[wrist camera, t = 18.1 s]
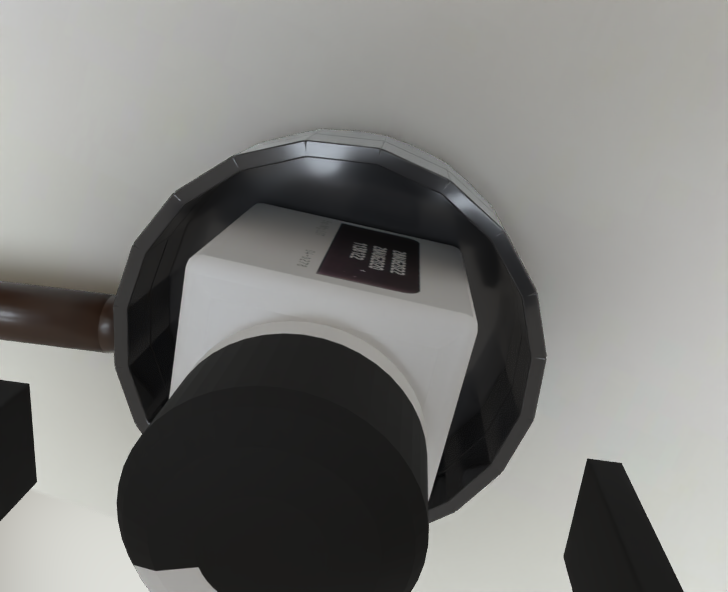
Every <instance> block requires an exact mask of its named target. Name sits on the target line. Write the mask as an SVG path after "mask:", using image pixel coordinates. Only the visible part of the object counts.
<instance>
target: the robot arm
mask: <svg viewBox="0 0 728 592" xmlns="http://www.w3.org/2000/svg"><path fill="white" fill-rule="evenodd" d="M36 482H37V477H36V464H35V451H34V438H33V425H32V412H31V399H30V386H29V384H27V383H19V382H12V381H4V380H0V521H1V519H3V518H4V517H5V516H6V514H7V513H8V512H9V511H10V510H11V509H12V508H13V507H14V506H15V505H16V504H17V503H18V502H19V500H21V498H22V497H23V496H24V495H25V494H26V493H27V492H28V491H29V490H30V489H31V488H32V487H33V486H34V485H35V483H36ZM564 561H565V564H566V568H567V572H568V575H569V579H570V583H571V586H572V590H573V592H683V589H682V587H681V585H680V583H679V581H678V579H677V577H676V575H675V573H674V571H673V569H672V567H671V565H670V563H669V560H668V558H667V556H666V554H665V552H664V550H663V548H662V546H661V544H660V542H659V540H658V538H657V536H656V534H655V531H654V529H653V527H652V525H651V523H650V521H649V519H648V517H647V515H646V513H645V511H644V509H643V507H642V505H641V502H640V500H639V498H638V496H637V494H636V492H635V490H634V488H633V486H632V484H631V482H630V480H629V478H628V476H627V473H626V471H625V469H624V467H623V465H622V463H616V462H609V461H601V460H594V459H587V462H586V466H585V470H584V475H583V479H582V483H581V487H580V491H579V495H578V499H577V503H576V507H575V511H574V516H573V520H572V524H571V528H570V532H569V536H568V540H567V544H566V548H565V552H564Z"/></svg>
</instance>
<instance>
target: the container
mask: <svg viewBox="0 0 728 592" xmlns="http://www.w3.org/2000/svg"><path fill="white" fill-rule="evenodd" d="M477 332H478V323H477V319H476V315H475V310H474V306H473V301H472V297H471V292H470V288H469V283H468V279H467V274H466V270H465V266H464V261H463V257H462V253H461V252H460V250H459V249H458V248H456V247H454V246H451V245H446V244H442V243H437V242H433V241H429V240H424V239H420V238H415V237H411V236H406V235H402V234H397V233H393V232H389V231H384V230H380V229H375V228H371V227H366V226H362V225H357V224H353V223H349V222H344V221H340V220H335V219H331V218H326V217H322V216H318V215H313V214H309V213H304V212H300V211H295V210H291V209H286V208H282V207H278V206H273V205H269V204H264V203H257V204H255V205H254V206H252V207H251V208H250V209H249V210H248V211H246V212H245V213H244V214H243V215H241V216H240V217H239V218H238V219H237V220H235V221H234V222H233V223H232V224H231V225H229V226H228V227H227V228H226V229H225V230H223V231H222V232H221V233H220V234H219V235H217V236H216V237H215V238H214V239H212V240H211V241H210V242H209V243H208V244H206V245H205V246H204V247H203V248H202V249H200V250H199V251H198V252H197V253H196V254H194V255H193V256H192V257H191V258H189V260H188V262H187V265H186V268H185V276H184V284H183V292H182V300H181V308H180V316H179V324H178V332H177V340H176V348H175V355H174V363H173V371H172V379H171V387H170V395H169V400H168V401H167V402H166V404H165V405H164V406H163V408H162V409H161V410H160V412H159V413H158V414H157V416H156V417H155V418H154V420H153V421H152V422H151V424H150V425H149V426H148V428H147V429H146V430H145V432H144V433H143V434H142V436H141V437H140V438H139V440H138V441H137V443H136V444H135V446H134V447H133V448H132V450H131V452H130V454H129V456H128V458H127V460H126V462H125V465H124V467H123V470H122V474H121V477H120V481H119V485H118V495H117V514H118V523H119V528H120V532H121V537H122V540H123V543H124V545H125V548H126V550H127V553H128V556H129V557H130V560H131V562H132V563H133V565H134V567H135V569H136V571H137V573H138V574H139V576H140V578H141V580H142V581H143V583H144V584H145V585H146V587H147V588H148V589H149V591H150V592H411V591H412V589H413V587H414V586H415V584H416V582H417V581H418V578H419V576H420V573H421V571H422V568H423V566H424V563H425V558H426V553H427V548H428V533H429V515H428V501H429V498H430V494H431V491H432V488H433V484H434V481H435V477H436V474H437V470H438V467H439V463H440V460H441V456H442V453H443V450H444V446H445V443H446V439H447V436H448V432H449V429H450V425H451V422H452V418H453V415H454V412H455V408H456V405H457V401H458V398H459V394H460V391H461V387H462V384H463V381H464V377H465V374H466V370H467V367H468V363H469V360H470V356H471V353H472V349H473V346H474V343H475V339H476V336H477Z"/></svg>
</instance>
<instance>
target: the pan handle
mask: <svg viewBox="0 0 728 592" xmlns="http://www.w3.org/2000/svg"><path fill="white" fill-rule="evenodd" d="M115 297H116V295H111V294H103V293H95V292H87V291H79V290H70V289H62V288H54V287H46V286H37V285H29V284H21V283H13V282H4V281H0V340H8V341H16V342H24V343H32V344H40V345H48V346H56V347H64V348H72V349H80V350H87V351H95V352H103V353H114V321H113V306H114V300H115Z"/></svg>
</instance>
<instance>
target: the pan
mask: <svg viewBox="0 0 728 592" xmlns="http://www.w3.org/2000/svg"><path fill="white" fill-rule="evenodd" d="M257 203H264V204H269V205H273V206H278V207H282V208H286V209H291V210H295V211H300V212H304V213H309V214H313V215H318V216H322V217H326V218H331V219H335V220H340V221H344V222H349V223H353V224H357V225H362V226H366V227H371V228H375V229H380V230H384V231H389V232H393V233H397V234H402V235H406V236H411V237H415V238H420V239H424V240H429V241H433V242H437V243H442V244H446V245H451V246H454V247H456V248H458V249H459V250H460V252H461V253H462V257H463V261H464V266H465V270H466V274H467V279H468V283H469V288H470V292H471V297H472V301H473V306H474V310H475V315H476V319H477V323H478V332H477V336H476V339H475V343H474V346H473V349H472V353H471V356H470V360H469V363H468V367H467V370H466V374H465V377H464V381H463V384H462V387H461V391H460V394H459V398H458V401H457V405H456V408H455V412H454V415H453V418H452V422H451V425H450V429H449V432H448V436H447V439H446V443H445V446H444V450H443V453H442V456H441V460H440V463H439V467H438V470H437V474H436V477H435V481H434V484H433V488H432V491H431V494H430V498H429V501H428V515H429V523H431V522H433V521H435V520H438V519H440V518H442V517H445V516H447V515H449V514H452V513H454V512H455V511H457V510H458V509H460V508H461V507H462V506H463V505H464V504H465V503H467V502H468V501H469V500H470V499H471V498H472V497H474V496H475V495H476V494H477V493H478V492H480V491H481V490H482V489H483V488H484V487H485V486H487V485H488V484H489V483H490V482H491V481H492V480H494V479H495V478H496V477H497V476H498V475H500V474H501V472H502V471H503V470H504V468H505V467H506V465H507V464H508V462H509V460H510V459H511V457H512V455H513V454H514V452H515V450H516V449H517V447H518V445H519V444H520V442H521V440H522V439H523V437H524V435H525V434H526V432H527V430H528V429H529V427H530V426H531V424H532V422H533V419H534V418H535V413H536V408H537V403H538V398H539V393H540V389H541V384H542V379H543V374H544V369H545V364H546V356H547V354H546V348H545V341H544V334H543V327H542V320H541V313H540V306H539V300H538V293H537V291H536V288H535V286H534V284H533V283H532V281H531V279H530V277H529V275H528V273H527V271H526V269H525V267H524V265H523V263H522V262H521V260H520V258H519V256H518V254H517V252H516V250H515V248H514V246H513V245H512V243H511V241H510V239H509V237H508V235H507V233H506V231H505V229H504V228H503V226H502V224H501V222H500V220H499V218H498V216H497V214H496V213H495V211H494V209H493V207H492V206H491V204H490V203H489V202H488V201H487V200H485V199H484V198H483V197H482V196H481V195H480V194H479V193H478V192H477V191H476V189H475V188H474V187H473V186H472V185H471V184H470V183H469V182H468V181H466V180H465V179H464V178H463V177H462V176H461V175H460V174H458V173H457V172H456V171H455V170H454V169H453V168H451V167H450V166H449V165H448V164H447V163H445V162H444V161H442V160H440V159H438V158H436V157H434V156H433V155H431V154H429V153H427V152H425V151H423V150H421V149H419V148H417V147H415V146H413V145H410V144H408V143H406V142H403V141H400V140H397V139H394V138H392V137H390V136H386V135H380V134H374V133H369V132H363V131H357V130H335V129H318V130H314V131H308V132H302V133H298V134H294V135H289V136H285V137H281V138H277V139H273V140H268V141H264V142H262V143H259V144H257V145H255V146H253V147H250V148H248V149H246V150H244V151H242V152H240V153H238V154H236V155H233V156H231V157H230V158H228V159H227V160H225V161H223V162H222V163H220V164H218V165H217V166H215V167H214V168H212V169H210V170H209V171H207V172H206V173H204V174H202V175H201V176H199V177H197V178H196V179H194V180H193V181H191V182H189V183H188V184H186V185H184V186H183V187H181V188H180V189H178V190H176V191H175V193H173V194H172V195H171V196H170V198H169V199H168V200H167V201H166V203H165V204H164V205H163V206H162V208H161V209H160V210H159V212H158V213H157V214H156V215H155V217H154V218H153V219H152V220H151V222H150V223H149V224H148V226H147V227H146V228H145V229H144V231H143V232H142V233H141V234H140V236H139V237H138V238H137V239H136V241H135V242H134V245H133V246H132V248H131V251H130V254H129V257H128V260H127V263H126V267H125V270H124V273H123V276H122V279H121V282H120V285H119V288H118V291H117V294H116V297H115V300H114V306H113V321H114V360H115V369H116V372H117V375H118V378H119V380H120V383H121V386H122V389H123V391H124V394H125V397H126V400H127V403H128V405H129V408H130V411H131V414H132V416H133V419H134V422H135V424H136V426H137V427H138V429H139V430H140V432H141V433H142V434H143V433H144V432H145V430H146V429H147V428H148V426H149V425H150V424H151V422H152V421H153V420H154V418H155V417H156V416H157V414H158V413H159V412H160V410H161V409H162V408H163V406H164V405H165V404H166V402H167V401H168V400H169V395H170V387H171V379H172V371H173V363H174V355H175V348H176V340H177V332H178V324H179V316H180V308H181V300H182V292H183V284H184V276H185V268H186V265H187V262H188V260H189V258H191V257H192V256H193V255H194V254H196V253H197V252H198V251H199V250H200V249H202V248H203V247H204V246H205V245H206V244H208V243H209V242H210V241H211V240H212V239H214V238H215V237H216V236H217V235H219V234H220V233H221V232H222V231H223V230H225V229H226V228H227V227H228V226H229V225H231V224H232V223H233V222H234V221H235V220H237V219H238V218H239V217H240V216H241V215H243V214H244V213H245V212H246V211H248V210H249V209H250V208H251V207H252V206H254V205H255V204H257Z"/></svg>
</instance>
